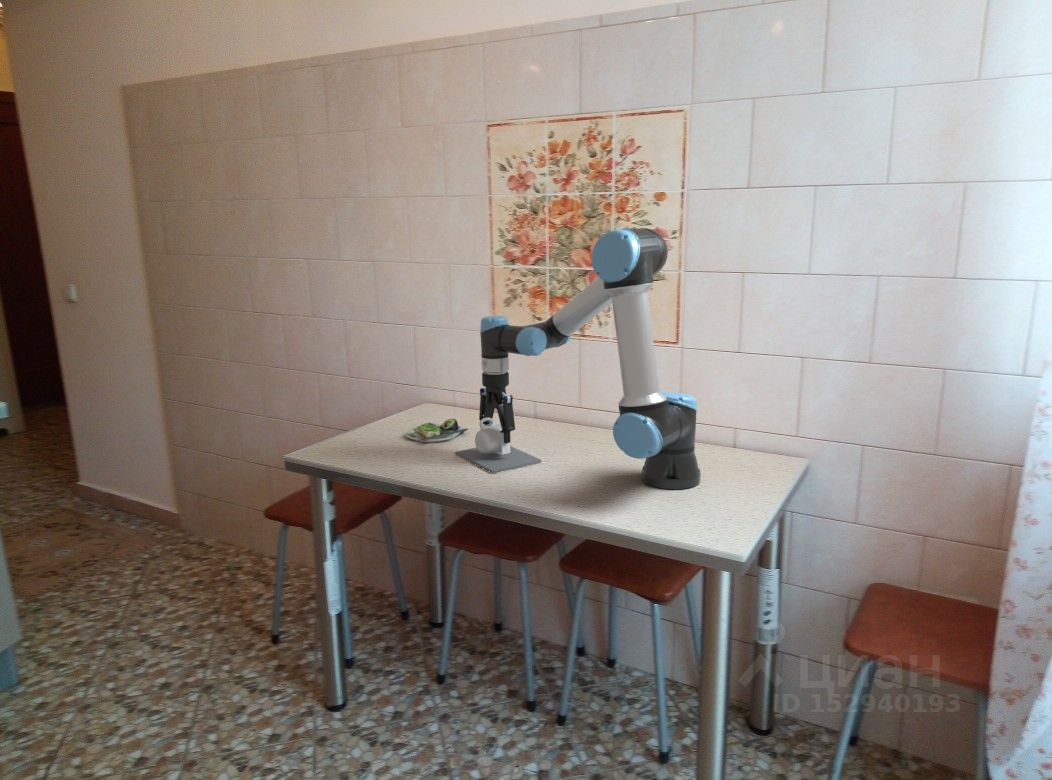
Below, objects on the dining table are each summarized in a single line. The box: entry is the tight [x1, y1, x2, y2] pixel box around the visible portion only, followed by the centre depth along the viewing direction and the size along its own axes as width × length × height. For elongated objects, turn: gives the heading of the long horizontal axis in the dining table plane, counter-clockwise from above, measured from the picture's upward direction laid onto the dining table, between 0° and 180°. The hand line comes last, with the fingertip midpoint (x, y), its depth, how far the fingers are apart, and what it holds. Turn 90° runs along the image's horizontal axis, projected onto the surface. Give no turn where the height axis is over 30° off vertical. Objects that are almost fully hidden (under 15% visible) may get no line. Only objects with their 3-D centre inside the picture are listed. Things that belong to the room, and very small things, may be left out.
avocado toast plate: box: [404, 418, 469, 444], centre depth 232 cm, size 19×18×5 cm
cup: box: [474, 418, 502, 453], centre depth 208 cm, size 11×8×8 cm
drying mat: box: [454, 445, 542, 474], centre depth 210 cm, size 21×16×1 cm
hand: (497, 449), depth 210 cm, fingers closed on cup, 8 cm apart
